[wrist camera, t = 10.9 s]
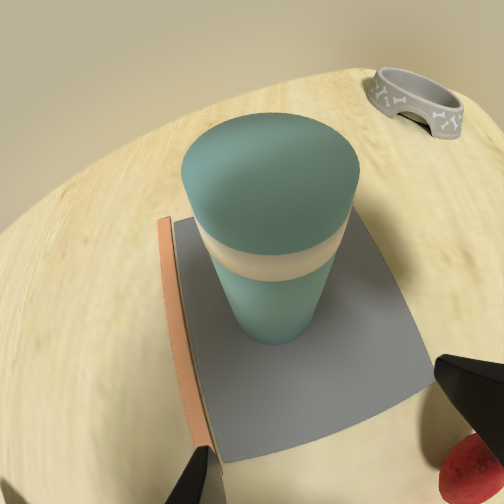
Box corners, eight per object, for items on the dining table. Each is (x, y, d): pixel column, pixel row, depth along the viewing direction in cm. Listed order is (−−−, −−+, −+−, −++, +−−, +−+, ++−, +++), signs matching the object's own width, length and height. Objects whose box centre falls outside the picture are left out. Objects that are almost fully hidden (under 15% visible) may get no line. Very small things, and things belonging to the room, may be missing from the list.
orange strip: (222, 475, 13) (222, 475, 13) (205, 477, 13) (204, 478, 13) (170, 218, 25) (169, 216, 24) (158, 222, 25) (157, 220, 24)
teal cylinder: (288, 360, 17) (317, 264, 6) (218, 319, 19) (144, 184, 8) (326, 292, 19) (378, 140, 8) (260, 259, 21) (244, 102, 10)
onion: (410, 463, 12) (477, 479, 5) (464, 417, 13) (535, 404, 6) (429, 509, 9) (489, 532, 2) (481, 463, 10) (546, 463, 3)
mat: (224, 462, 14) (223, 463, 13) (174, 225, 24) (173, 223, 24) (435, 380, 15) (437, 379, 15) (336, 185, 26) (337, 182, 25)
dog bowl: (375, 80, 42) (378, 58, 38) (457, 115, 36) (464, 93, 31) (356, 108, 35) (360, 78, 30) (463, 155, 29) (475, 127, 24)
